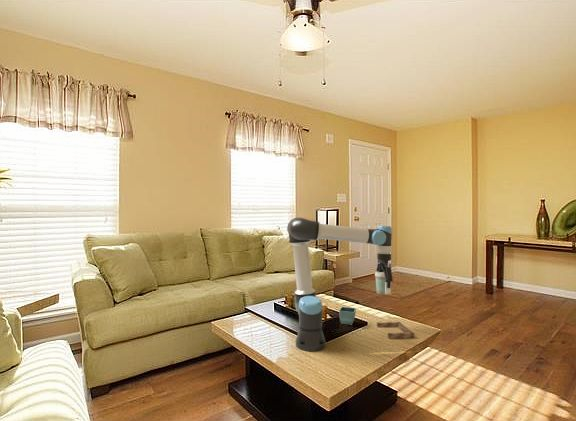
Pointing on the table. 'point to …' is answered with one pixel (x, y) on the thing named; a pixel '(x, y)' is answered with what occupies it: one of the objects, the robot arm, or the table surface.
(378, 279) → the coffee cup
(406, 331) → the bay
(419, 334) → the table surface
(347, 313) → the flower pot
